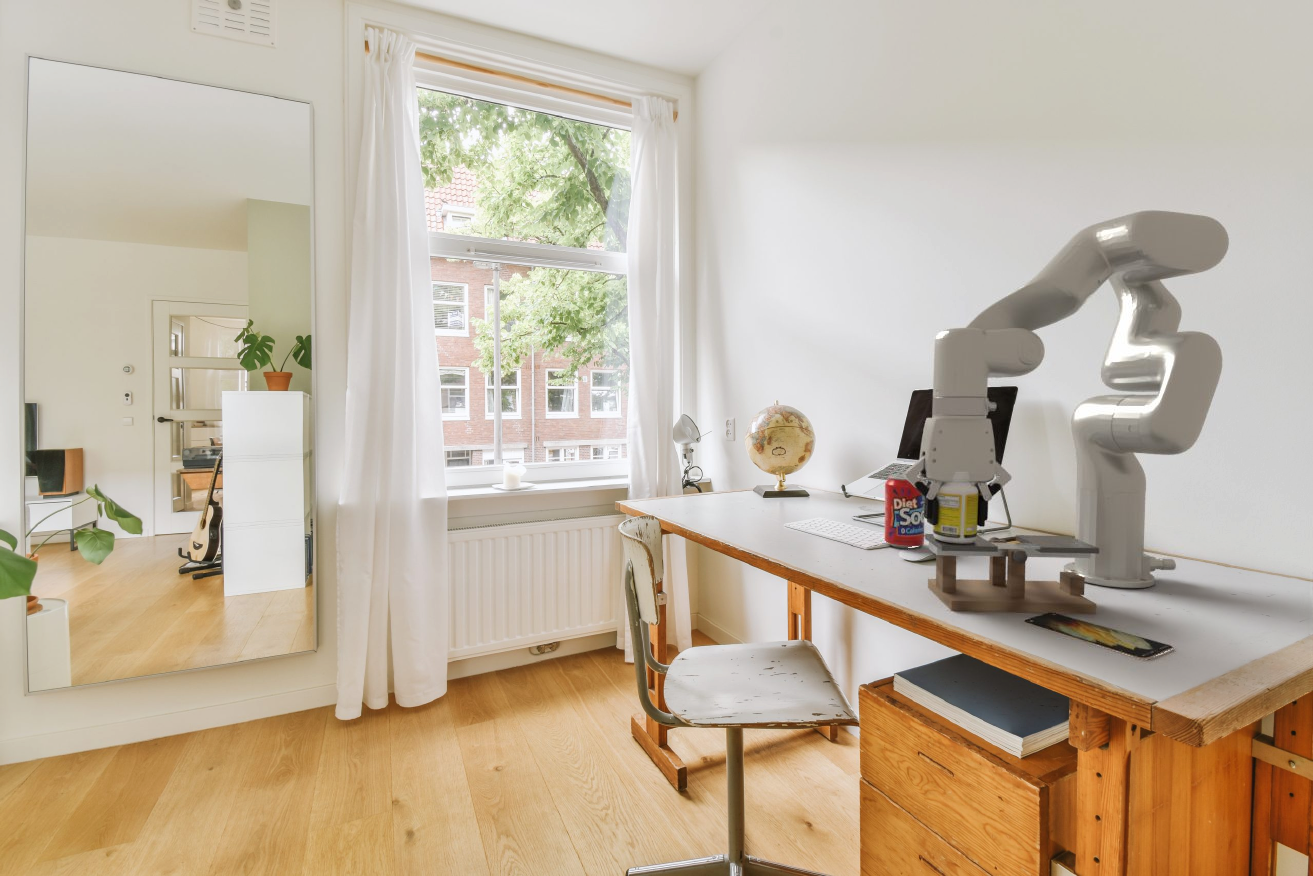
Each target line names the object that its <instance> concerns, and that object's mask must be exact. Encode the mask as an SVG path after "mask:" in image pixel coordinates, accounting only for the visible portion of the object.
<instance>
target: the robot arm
mask: <svg viewBox="0 0 1313 876" xmlns="http://www.w3.org/2000/svg"><path fill="white" fill-rule="evenodd" d="M1229 244H1230V238H1229V234H1228V232H1227V229H1226V227H1224V225H1223V224H1222V223H1221V222H1220V221H1218V220H1217V219H1215V218H1213V217H1210V216H1207V215H1201V214H1200V215H1199V214H1191V213H1186V212H1185V213H1184V212H1178V211H1177V212H1176V211H1168V210H1152V209H1151V210H1143V211H1137V212H1136V211H1135V212H1133V213H1129V214H1125V215H1122V216H1119V217H1116V218H1112V219H1109V220H1104V221H1101V222H1097V223H1094V224H1091V225H1089V226H1087V227H1085V228H1083V229H1081V230H1080V231H1078V232H1077V233H1076V234H1075V235H1073V236H1072V237H1071V238H1070V239H1069V240H1068V241H1067V242H1066V244H1064V246H1063V247H1062V248H1061V249H1060V250H1059V251H1058V252H1057V253H1056V254H1055V255H1054V256H1053V257H1052V258H1051V260H1050V261H1049V262H1048V263H1047V264H1046V265H1045V266H1044V267H1043V268H1042V269H1041V270H1040V271H1039V272H1038V273H1037V274H1036V275H1035V276H1034V277H1033V278H1032V279H1031V280H1029V281H1027V282H1025V284H1023V285H1021V286H1019V287H1017V288H1016V289H1014V290H1013V291H1011V292H1009V293H1008V294H1007V295H1005V296H1004V297H1002V298H1000V299H999V300H997V301H995V302H994V303H992V304H991V305H990V306H987V308H985V309H984V310H982V311H981V312H980V313H978V314H977V315H976V316H975V317H974V318H973V319H972V320H970V322H969V323H968V324H966V326H965V327H955V328H949V329H944V330H940V331H939V333H937V334H936V336H935V338H934V348H933V349H934V350H933V351H934V355H933V356H934V357H933V381H932V382H933V383H932V384H933V385H932V387H933V388H932V408H931V409H932V410H931V411H932V412H931V413H932V414H931V415H932V417H926V420H925V423H924V427H923V431H922V432H923V433H922V437H921V443H920V451H919V459H918V460H916V462H914V463H913V464H912V465H911V466H910V467H908V469H907V470H905V471H904V473H903V475H904V477H905V478H906V479H907V480H908V481H909V482H910V483H911V484H912V485H913V486H914V487H915V488H916V489H917V490H918V491H919V492H920V493H921V494H922V496H924V519H925V520H926V522H927V523H928V524H930V525H931V526H933V525H936V524H938V500H936V494H937V492H938V489H939V487H940V485H941V483H942V482H952V481H953V480H954V479H953V476H954V474H955V472H968V473H969V477H970V479H969V480H970V481H968V482H970V483H972V484H973V485H975V486H976V487H977V489H978V516H977V527H983V528H984V527H985V525H986V521H987V520H988V518H989V501H991V500H992V498H993V497H994V496H995V495H996V494H997V493H998V492H999V491H1001V490H1002V488H1003V487H1005V485H1006V484H1007V483H1009V482H1011V480H1012V475H1011V474H1010V473H1009V472H1008V471H1007V470H1006V469H1005V468H1004V467H1002V465H1001V464H1000V463H999V462H998V461H997V460H996V445H995V437H994V430H993V424H992V419H991V418H987V416H988V415H989V412H995V411H996V410H997V402H995V401H993V402H992V401H990V400H989V397H988V381H989V380H988V379H989V378H990V379H991V378H992V379H993V378H996V379H999V378H1000V379H1001V378H1017V377H1021V376H1025V375H1028V374H1030V373H1032V372H1034V371H1035V370H1036V369H1038V367H1039V366H1040V365H1041V364H1042V362H1043V360H1044V358H1045V352H1046V351H1045V344H1044V342H1043V340H1042V339H1041V337H1040V336H1039V334H1037V333H1036V332H1033V331H1036V330H1038V329H1039V330H1040V329H1041V328H1045V327H1048V326H1051V325H1053V324H1055V323H1058V322H1060V321H1062V320H1065V319H1067V318H1069V317H1071V316H1072V315H1074V314H1076V313H1077V312H1078V311H1080V309H1082V307H1084V306H1085V304H1086V303H1087V302H1088V301H1089V299H1091V298H1092V296H1093V295H1095V293H1096V292H1097V291H1098V290H1099V289H1100V288H1101V286H1103V284H1105V283H1106V281H1107V280H1108V281H1109V283H1110V285H1111V287H1112V289H1113V291H1114V294H1115V295H1116V299H1117V302H1118V307H1119V308H1118V309H1119V314H1118V317H1117V320H1116V324H1115V326H1114V330H1113V332H1112V335H1111V337H1110V340H1109V343H1108V346H1107V349H1106V352H1105V355H1104V356H1103V360H1102V363H1101V364H1102V365H1101V368H1100V378H1101V380H1102V383H1104V384H1103V385H1105V386H1106V387H1108V388H1110V389H1111V390H1115V391H1118V392H1120V391H1121V392H1130V393H1131V392H1132V393H1133V392H1134V393H1146V392H1147V393H1148V392H1149V393H1150V392H1152V393H1153V392H1154V393H1156V392H1158V394H1105V395H1096V396H1092V397H1090V398H1087V399H1085V400H1083V401H1081V402H1080V403H1078V405H1077V406H1076V407H1075V408H1074V410H1073V412H1072V415H1071V419H1070V425H1071V426H1070V427H1071V429H1070V430H1071V433H1072V438H1073V439H1072V440H1073V443H1074V448H1075V449H1074V450H1075V454H1076V456H1075V457H1076V491H1075V492H1076V494H1075V496H1076V499H1075V527H1074V529H1075V531H1074V538H1075V539H1078V540H1080V541H1083V542H1085V543H1088V544H1090V545H1092V546H1095V547H1097V548H1099V554H1091V558H1074V562H1073V561H1072V562H1068V563H1066V564H1064V566H1063V572H1075V573H1077V574H1079V575H1080V576H1082V577H1084V578H1085V583H1088V584H1093V585H1098V586H1103V587H1111V588H1119V589H1121V588H1122V589H1145V588H1149V587H1152V586H1154V585H1155V583H1156V581H1155V580H1156V579H1155V575H1153V574H1151V572H1153V573H1154V572H1155V571H1156V570H1161V571H1175V570H1176V567H1177V563H1176V561H1175V560H1174V559H1173V558H1157V557H1156V556H1151V555H1148V554H1146V553H1144V550H1145V549H1144V548H1145V520H1146V518H1145V517H1146V491H1147V479H1146V473H1145V471H1144V468H1143V466H1142V465H1141V462H1140V461H1139V459H1138V457H1136V454H1146V455H1160V456H1161V455H1163V456H1171V455H1172V456H1175V455H1180V454H1183V453H1185V452H1187V451H1188V450H1190V449H1192V447H1193V446H1194V445H1195V443H1197V441H1198V438H1199V437H1200V434H1201V433H1202V431H1203V428H1204V426H1205V425H1204V424H1205V423H1206V419H1207V415H1208V413H1209V410H1210V407H1211V405H1212V403H1213V399H1214V396H1215V392H1216V391H1217V387H1218V385H1219V382H1220V378H1221V374H1222V371H1223V370H1222V369H1223V354H1222V349H1221V347H1220V344H1219V343H1218V342H1217V340H1216V339H1215V338H1214V337H1213V336H1211V335H1210V334H1207V333H1205V332H1201V331H1195V330H1194V331H1191V330H1190V331H1189V330H1187V331H1186V330H1185V331H1178V330H1179V327H1180V323H1181V320H1182V307H1181V305H1180V303H1179V301H1178V300H1177V298H1176V297H1175V296H1174V295H1173V294H1172V293H1171V291H1169V289H1168V287H1166V286H1165V285H1164V283H1162V280H1166V279H1171V278H1177V277H1183V276H1189V275H1194V274H1199V273H1203V272H1206V271H1208V270H1212V269H1213V268H1215V267H1217V265H1218V264H1220V263H1221V262H1222V260H1223V259H1224V258H1225V256H1226V255H1227V252H1228V250H1229V246H1230V245H1229ZM918 474H919V475H920V477H921V478H924V479H926V483H924V482H923V481H922V482H921V481H920V480H919V479H918V477H917V476H918ZM995 476H996V477H995ZM989 482H990V483H989Z"/></svg>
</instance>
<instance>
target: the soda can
mask: <svg viewBox="0 0 1313 876" xmlns="http://www.w3.org/2000/svg"><path fill="white" fill-rule="evenodd" d="M917 477H918V479H919V480H920V481H921V482H923V480H922V476H919V475H917ZM884 541H886V543H887V542H888V543H889V544H888V543H887V544H888V545H889V546H890V547H893V548H897V549H904V548H908V547H912V546H919V547H921V546H923V545H924V543H925V517H924V496H922V494H921V493H920V492H919V491H918V490H917V489H916V488H915V487H914V486H913V485H912V484H911V483H910V482H909V481H908V480H907V479H906V478H905V477H904V474H892V475H888V479H887V480H886V482H885V485H884Z"/></svg>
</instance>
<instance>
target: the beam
mask: <svg viewBox="0 0 1313 876" xmlns="http://www.w3.org/2000/svg"><path fill="white" fill-rule="evenodd" d="M924 540H926V541H927V542H928V550H929V551H931V552H932V553H934V555H948V556H956V557H958V556H961V557H962V556H963V557H990V556H1002V557H1006V558H1008V549H1022V550H1024V551H1026V554H1027V558H1060V559H1062V558H1063V559H1064V558H1067V559H1070V558H1071V559H1075V558H1091V554H1099V548H1097V547H1095V546H1092V545H1090V544H1088V543H1085V542H1083V541H1080V540H1078V539H1075V537H1072V536H1070V535H1033V534H1032V535H1025V534H1024V535H1023V534H1021V535H1019V534H1016V535H1015V541H1017V542H1006V543H991V542H989V540H987V539H985V538H983V537H981V536H980V535H978V534H977V539H976V541H975V542H973V543H969V544H958V543H948V542H943V541H940V540H937V539H936V538H935V537H934V536H933V533H924Z"/></svg>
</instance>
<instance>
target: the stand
mask: <svg viewBox="0 0 1313 876" xmlns="http://www.w3.org/2000/svg"><path fill="white" fill-rule="evenodd" d="M988 541H989V542H991V543H1007V541H1006V540H1005V539H1000V538H999V537H997V536H996V537H995V536H994V537H990V538H989V540H988ZM935 555H936V554H935ZM935 557H936V558H935V560H936V561H935V578H927V588H928V589H929V591H931V592H932V593H933V594H934V595H935V596H936V597H937V598H938V599H939V600H940V602H942V603H943V604H944V605H945V606H946V607H947V608H949V610H950V611H954V612H955V611H956V612H957V611H958V612H995V613H996V612H999V613H1002V612H1003V613H1033V614H1034V613H1035V614H1036V613H1039V614H1041V613H1043V614H1046V613H1057V614H1078V615H1079V614H1081V615H1083V614H1084V615H1096V614H1097V602H1096V603H1095V602H1094V601H1091V600H1090V599H1088V598H1086V597H1085V583H1086V582H1085V578H1084V577H1082V576H1080V575H1079V574H1077V573H1075V572H1064V571H1059V582H1058V581H1056V580H1026V561H1027V560H1028V557H1027V554H1026V551H1024V550H1022V549H1008V557H1002V556H989V576H988V577H989V578H988V579H965V578H964V579H961V578H959V579H957V556H948V555H936V556H935Z"/></svg>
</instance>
